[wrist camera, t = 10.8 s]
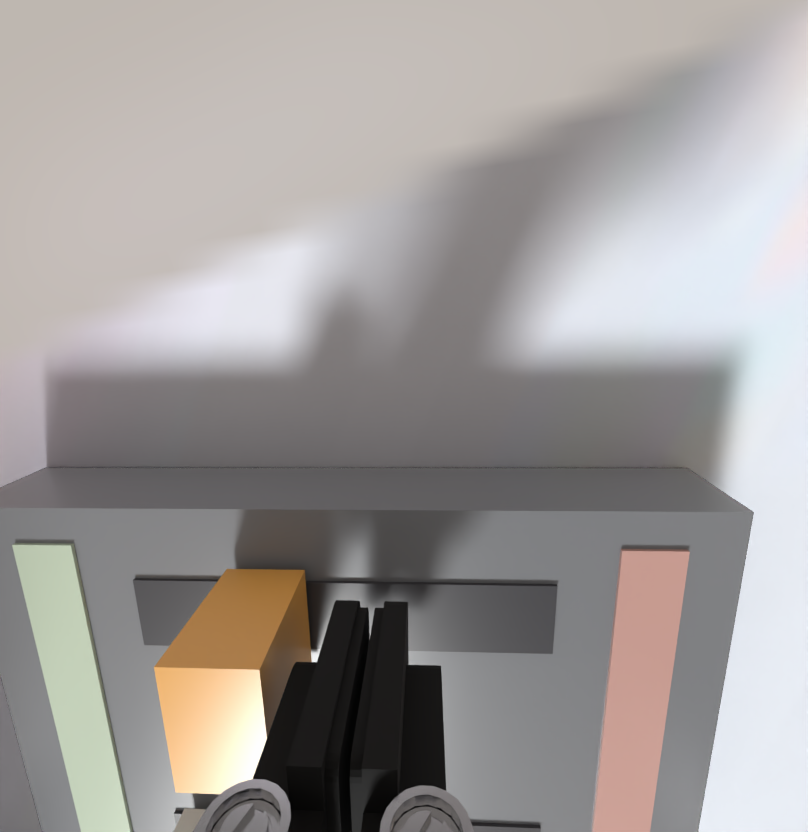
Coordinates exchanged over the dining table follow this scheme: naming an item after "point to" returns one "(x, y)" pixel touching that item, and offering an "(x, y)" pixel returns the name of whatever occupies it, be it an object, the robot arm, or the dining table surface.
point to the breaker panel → (372, 585)
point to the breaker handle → (231, 676)
